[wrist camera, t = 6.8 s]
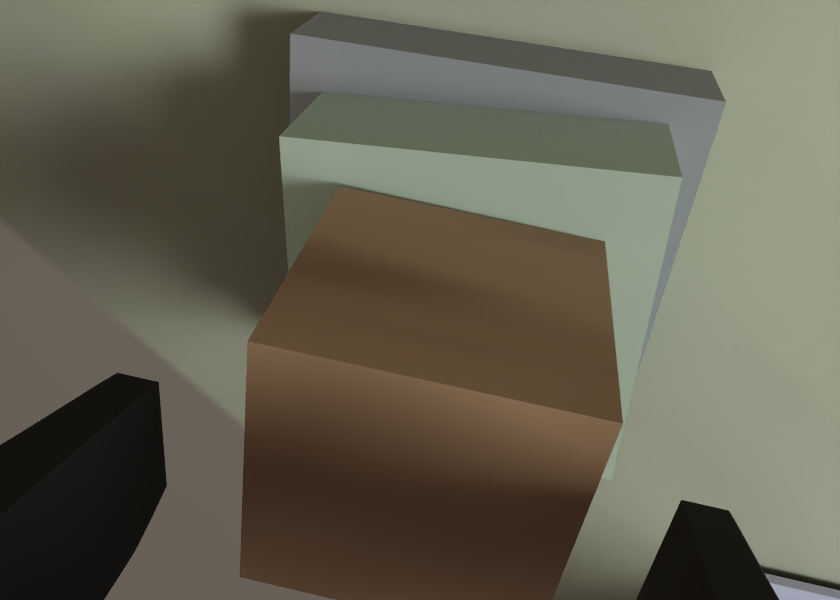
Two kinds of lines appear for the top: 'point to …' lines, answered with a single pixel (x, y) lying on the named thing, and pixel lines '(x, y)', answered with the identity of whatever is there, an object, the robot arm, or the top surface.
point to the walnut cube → (427, 406)
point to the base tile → (510, 87)
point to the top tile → (500, 184)
